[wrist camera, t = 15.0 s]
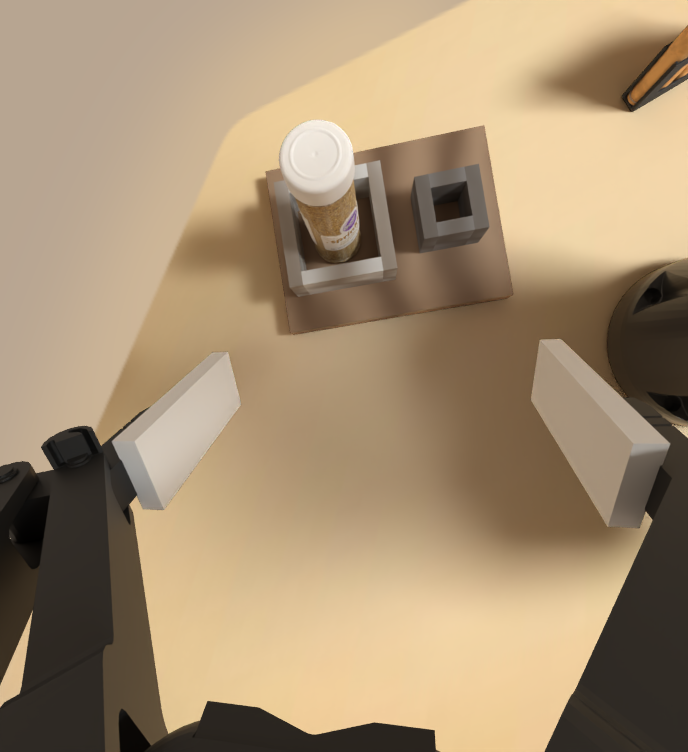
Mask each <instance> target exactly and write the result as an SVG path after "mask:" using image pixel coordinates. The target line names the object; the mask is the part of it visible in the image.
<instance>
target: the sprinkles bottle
mask: <svg viewBox="0 0 688 752" xmlns="http://www.w3.org/2000/svg"><path fill="white" fill-rule="evenodd" d="M279 164H280V169H281V172H282V175H283V178H284V180H285V183H286V185H287V187H288V189H289V191H290V192H291V193H292V195H293V196H294V197H295V199H296V201H297V204H298V208H299V211H300V213H301V215H302V218H303V220H304V222H305V224H306V227H307V229H308V231H309V233H310V236H311V238H312V240H313V241H314V242H315V247H316V250H317V251H318V253H319V255H320V256H321V257H322V258H323V259H325V260H326V261H328V262H331V263H342V262H346V261H348V260H350V259H351V258H352V257H353V256H354V255H356V253H357V252H358V251H359V248H360V245H361V232H360V229H359V215H358V207H357V201H356V195H355V188H354V180H353V178H354V173H355V164H354V155H353V149H352V145H351V142H350V140H349V138H348V136H347V135H346V133H345V132H344V131H343V130H342V129H341V128H340V127H339V126H337V125H336V124H334V123H332V122H329V121H325V120H310V121H306V122H303V123H301V124H300V125H298V126H296V127H295V128H294V129H292V130H291V131H290V132H289V133H288V135H287V136H286V137H285V139H284V141H283V143H282V146H281V149H280V153H279Z"/></svg>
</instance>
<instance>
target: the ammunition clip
mask: <svg viewBox="0 0 688 752" xmlns="http://www.w3.org/2000/svg"><path fill="white" fill-rule="evenodd" d="M687 79H688V26H687V27H686V28H685V29H684V30H683V31H682V32H681V34H680V35H679V36H678V37H677V38H676V39H675V40H674V41H673V42H671V43H670V44H668V45H666V46H665V47H664V48H663V49H662V50H661V51H660V53H659V54H658V55H657V56H656V57H655V58H654V59H653V61H652V62H651V63H650V64H649V65H648V66H647V67H646V69H645V70H644V71H643V72H642V73H641V74H640V75H639V77H638V78H637V79H636V80H635V81H634V82H633V84H632V85H631V86H630V87H629V88H628V89H627V90H626V92H625V93H624V94H623V95H622V98H623V99H624V101H625V102H626V104H627V105H628V107H629V108H630V110H631V111H635V110H637V109H638V108H640V107H642V106H643V105H645V104H647V103H648V102H650V101H652V100H654V99H655V98H657V97H659V96H660V95H662V94H664V93H665V92H667V91H669V90H670V89H672V88H674V87H675V86H677V85H679V84H680V83H682V82H684V81H685V80H687Z"/></svg>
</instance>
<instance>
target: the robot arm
mask: <svg viewBox="0 0 688 752" xmlns="http://www.w3.org/2000/svg"><path fill="white" fill-rule="evenodd" d="M607 346H608V356H609V361H610V365H611V368H612V371H613V373H614V376H615V378H616V380H617V382H618V383H619V385H620V387H621V388H622V389H623V391H624V392H625V393H626V395H627V396H628V397H625V398H622V397H621V396H620V395H619V394H618V393H617V392H616V391H615V390H614V389H613V388H612V387H611V386H610V385H609V384H607V383H606V382H605V381H604V380H603V379H602V378H601V377H600V376H599V375H598V374H597V373H596V372H595V371H594V370H593V369H592V368H591V367H590V366H589V365H588V364H587V363H586V362H584V361H583V360H582V359H581V358H580V357H579V356H578V355H577V354H576V353H575V352H574V351H573V350H572V349H571V348H570V347H569V346H568V345H567V344H566V343H565V342H564V341H563V340H561V339H544V340H540V341H539V348H538V355H537V361H536V368H535V375H534V382H533V388H532V395H531V401H532V403H533V405H534V406H535V408H536V410H537V411H538V413H539V415H540V416H541V418H542V419H543V421H544V423H545V424H546V426H547V428H548V429H549V431H550V433H551V434H552V436H553V438H554V439H555V441H556V443H557V444H558V446H559V447H560V449H561V451H562V452H563V454H564V456H565V457H566V459H567V461H568V462H569V464H570V466H571V467H572V469H573V471H574V472H575V474H576V476H577V477H578V479H579V480H580V482H581V484H582V485H583V487H584V489H585V490H586V492H587V494H588V495H589V497H590V499H591V500H592V502H593V504H594V505H595V507H596V508H597V510H598V512H599V513H600V515H601V517H602V518H603V520H604V522H605V523H606V525H607V527H626V528H640V525H641V523H642V520H643V517H644V514H645V512H647V513H648V514H649V516H650V517H651V518H652V520H653V521H652V523H651V526H650V528H649V530H648V532H647V534H646V536H645V539H644V541H643V543H642V545H641V547H640V550H639V552H638V554H637V556H636V558H635V561H634V563H633V565H632V567H631V569H630V571H629V574H628V576H627V578H626V580H625V582H624V585H623V587H622V589H621V591H620V593H619V596H618V598H617V600H616V602H615V604H614V606H613V609H612V611H611V613H610V615H609V617H608V620H607V622H606V624H605V626H604V628H603V631H602V633H601V635H600V637H599V639H598V641H597V644H596V646H595V648H594V650H593V652H592V655H591V657H590V659H589V661H588V663H587V666H586V668H585V670H584V672H583V674H582V676H581V679H580V681H579V683H578V685H577V687H576V689H575V691H574V693H573V694H572V695H571V697H570V699H569V700H568V702H567V704H566V707H565V709H564V711H563V713H562V715H561V717H560V719H559V722H558V724H557V726H556V728H555V730H554V732H553V735H552V737H551V739H550V741H549V743H548V745H547V748H546V750H545V752H688V438H687V437H686V436H685V435H683V434H682V433H681V432H680V431H679V430H678V429H677V428H675V427H674V426H672V424H671V423H673V424H677V425H682V426H688V258H685V259H682V260H679V261H677V262H674V263H672V264H669V265H667V266H664V267H662V268H659V269H657V270H655V271H653V272H651V273H649V274H648V275H646V276H644V277H643V278H642V279H640V280H639V281H638V282H636V283H635V284H634V285H633V286H632V287H631V288H630V289H629V290H628V291H627V292H626V294H625V295H624V296H623V298H622V299H621V300H620V302H619V304H618V305H617V307H616V309H615V311H614V314H613V316H612V319H611V322H610V326H609V331H608V342H607ZM240 405H241V401H240V397H239V393H238V389H237V385H236V381H235V377H234V374H233V370H232V366H231V362H230V358H229V354H228V352H212V353H211V354H210V355H209V356H208V357H206V358H205V359H204V360H203V361H202V362H201V363H200V364H198V365H197V366H196V367H195V368H194V369H193V370H192V371H191V372H189V373H188V374H187V375H186V376H185V377H184V378H183V379H182V380H180V381H179V382H178V383H177V384H176V385H175V386H174V387H172V388H171V389H170V390H169V391H168V392H167V393H166V394H165V395H163V396H162V397H161V398H160V399H159V400H158V401H157V402H155V403H154V404H153V405H152V406H151V407H149V408H147V409H145V410H143V411H142V412H140V413H139V414H138V415H136V416H135V417H134V418H133V419H132V420H131V422H128V423H127V424H126V425H125V426H124V427H123V429H120V430H119V431H118V432H117V433H116V434H115V435H113V436H112V437H111V438H110V439H109V440H108V441H107V442H105V443H104V444H103V445H102V446H101V445H100V443H99V441H98V439H97V437H96V435H95V433H94V431H93V429H92V428H91V427H88V426H78V427H74V428H70V429H67V430H65V431H62V432H59V433H58V434H56V435H54V436H52V437H50V438H49V439H48V440H47V441H46V442H44V444H43V445H42V447H41V448H42V450H43V452H44V454H45V455H46V457H47V459H48V460H49V462H50V464H51V466H52V467H53V469H54V470H51V471H46V472H41V473H35V471H34V469H33V468H32V466H31V464H30V463H29V462H23V461H22V462H15V463H11V464H8V465H3V466H1V467H0V684H1V682H2V680H3V677H4V675H5V673H6V670H7V668H8V666H9V663H10V661H11V659H12V657H13V654H14V652H15V650H16V647H17V645H18V643H19V640H20V638H21V636H22V633H23V631H24V629H25V627H26V624H27V622H28V620H29V617H30V615H31V613H32V610H33V613H32V620H31V627H30V633H29V640H28V647H27V654H26V660H25V667H24V674H23V681H22V687H21V691H20V694H19V695H17V696H15V697H13V698H11V699H10V700H8V701H6V702H4V704H3V705H2V706H1V708H0V752H440V751H438V750H436V746H435V730H428V729H421V728H413V727H405V726H397V725H390V724H382V723H370V724H365V725H360V726H356V727H351V728H346V729H341V730H337V731H332V732H327V733H322V734H317V735H312V734H308V733H306V732H304V731H302V730H300V729H298V728H296V727H294V726H293V725H291V724H289V723H287V722H285V721H283V720H281V719H279V718H277V717H276V716H274V715H272V714H270V713H268V712H266V711H264V710H262V709H261V708H258V707H250V706H243V705H235V704H227V703H219V702H212V701H207V704H206V706H205V709H204V712H203V714H202V717H201V720H200V721H197V722H194V723H191V724H188V725H186V726H183V727H181V728H179V729H177V730H175V731H173V732H171V733H169V734H168V732H167V729H166V726H165V723H164V719H163V715H162V710H161V703H160V696H159V689H158V682H157V675H156V668H155V661H154V654H153V647H152V641H151V634H150V627H149V620H148V613H147V606H146V599H145V592H144V585H143V578H142V571H141V564H140V557H139V550H138V543H137V536H136V529H135V523H134V516H133V512H132V509H131V507H130V505H129V504H130V503H131V502H132V501H133V499H134V498H135V497H136V496H137V497H138V499H139V502H140V504H141V506H142V508H143V509H151V510H164V509H165V508H166V507H167V505H168V504H169V503H170V501H171V500H172V498H173V497H174V496H175V494H176V493H177V492H178V490H179V489H180V487H181V486H182V485H183V483H184V482H185V481H186V479H187V478H188V477H189V475H190V474H191V472H192V471H193V470H194V468H195V467H196V466H197V464H198V463H199V461H200V460H201V459H202V457H203V456H204V455H205V453H206V452H207V450H208V449H209V448H210V446H211V445H212V444H213V442H214V441H215V440H216V438H217V437H218V435H219V434H220V433H221V431H222V430H223V429H224V427H225V426H226V424H227V423H228V422H229V420H230V419H231V418H232V416H233V415H234V413H235V412H236V411H237V409H238V408H239V407H240ZM10 538H11V539H10Z"/></svg>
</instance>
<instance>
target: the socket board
mask: <svg viewBox="0 0 688 752" xmlns="http://www.w3.org/2000/svg"><path fill="white" fill-rule="evenodd" d="M353 155H354V164H355V173H354V178H353V180H354V188H355V195H356V201H357V207H358V215H359V229H360V232H361V245H360V248H359V251H358V252H357V253H356V255H354V256H353V257H352V258H351V259H350V260H348V261H346V262H342V263H331V262H328V261H326V260H325V259H323V258H322V257H321V256H320V255H319V253H318V251H317V250H316V247H315V242H314V241H313V240H312V238H311V236H310V233H309V231H308V229H307V227H306V224H305V222H304V220H303V218H302V215H301V213H300V211H299V208H298V204H297V201H296V199H295V197H294V196H293V195H292V193H291V192H290V191H289V189H288V187H287V185H286V183H285V180H284V178H283V175H282V172H281V169H275V170H271V171H266V177H267V184H268V190H269V197H270V203H271V210H272V216H273V223H274V230H275V236H276V243H277V249H278V256H279V262H280V269H281V275H282V282H283V288H284V295H285V302H286V308H287V315H288V321H289V328H290V333H292V334H293V335H295V334H301V333H307V332H313V331H319V330H325V329H330V328H336V327H342V326H348V325H354V324H360V323H366V322H371V321H377V320H383V319H389V318H395V317H401V316H406V315H412V314H418V313H424V312H430V311H436V310H442V309H447V308H453V307H459V306H465V305H471V304H477V303H482V302H488V301H494V300H500V299H506V298H509V297H510V296H512V295H513V290H512V284H511V279H510V273H509V267H508V261H507V255H506V249H505V244H504V238H503V232H502V226H501V220H500V214H499V209H498V203H497V197H496V191H495V185H494V179H493V174H492V168H491V162H490V156H489V150H488V144H487V139H486V133H485V127H484V126H479V127H474V128H469V129H465V130H460V131H455V132H450V133H446V134H441V135H436V136H431V137H427V138H422V139H417V140H413V141H408V142H403V143H398V144H394V145H389V146H384V147H379V148H375V149H370V150H365V151H361V152H356V153H353Z"/></svg>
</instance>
